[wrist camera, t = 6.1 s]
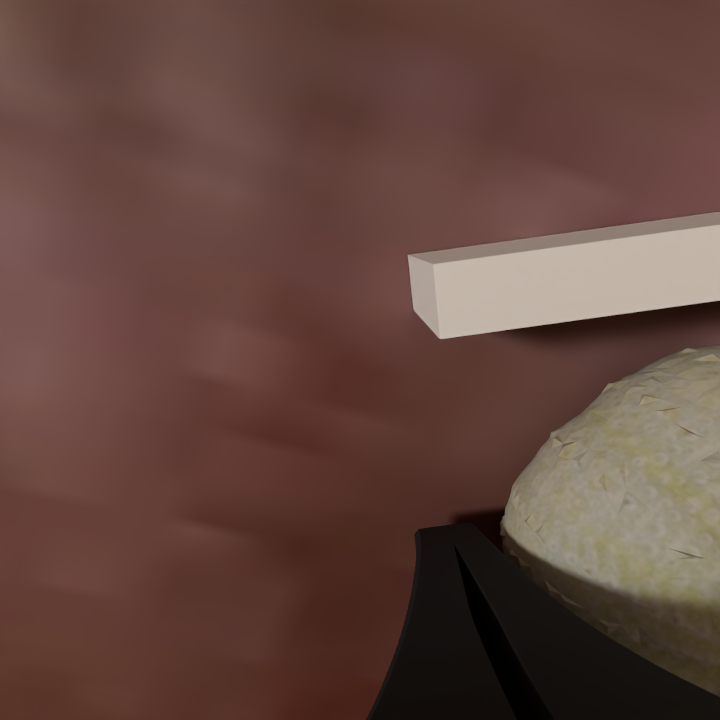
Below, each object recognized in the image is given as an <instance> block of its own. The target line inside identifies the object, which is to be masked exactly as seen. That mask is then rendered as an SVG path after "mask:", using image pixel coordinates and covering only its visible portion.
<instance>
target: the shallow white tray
mask: <svg viewBox="0 0 720 720" xmlns="http://www.w3.org/2000/svg"><path fill="white" fill-rule="evenodd" d="M408 261H409V271H410V280H411V290H412V299H413V309H414V311H415V312H416V313H417V314H418V315H419V316H420V318H421V319H422V320H423V321H424V322H425V323H426V324H427V325H428V326H429V327H430V329H431V330H432V331H433V332H434V333H435V334H436V335H437V336H438V337H439V339H445V338H452V337H460V336H467V335H474V334H481V333H488V332H496V331H503V330H510V329H517V328H525V327H532V326H539V325H546V324H553V323H561V322H568V321H575V320H582V319H590V318H597V317H604V316H611V315H618V314H626V313H633V312H640V311H647V310H655V309H662V308H669V307H676V306H684V305H691V304H698V303H705V302H712V301H720V212H715V213H707V214H700V215H693V216H686V217H679V218H671V219H664V220H657V221H650V222H642V223H635V224H628V225H621V226H613V227H606V228H599V229H592V230H585V231H577V232H570V233H563V234H556V235H548V236H541V237H534V238H527V239H519V240H512V241H505V242H498V243H491V244H483V245H476V246H469V247H462V248H454V249H447V250H440V251H433V252H425V253H418V254H411V255H408Z"/></svg>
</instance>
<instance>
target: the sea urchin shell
mask: <svg viewBox="0 0 720 720" xmlns="http://www.w3.org/2000/svg"><path fill="white" fill-rule="evenodd" d="M500 527H501V532H500V536H501V538H502V549H503V554H504V555H505V556H506V557H507V558H508V559H509V560H510V561H511V562H512V563H513V564H514V565H515V566H517V567H518V568H519V569H520V570H521V571H522V572H523V573H524V574H525V575H527V576H528V577H529V578H530V579H531V580H532V581H533V582H535V583H536V584H537V585H538V586H539V587H541V588H542V589H543V590H544V591H545V592H547V593H548V594H549V595H550V596H552V597H553V598H554V599H555V600H557V601H558V602H559V603H560V604H562V605H563V606H564V607H566V608H567V609H568V610H570V611H571V612H572V613H574V614H575V615H576V616H578V617H579V618H581V619H582V620H584V621H585V622H587V623H588V624H590V625H591V626H593V627H594V628H596V629H597V630H598V631H600V632H601V633H603V634H604V635H606V636H608V637H609V638H611V639H613V640H614V641H616V642H617V643H619V644H621V645H622V646H624V647H626V648H627V649H629V650H631V651H633V652H634V653H636V654H638V655H640V656H641V657H643V658H645V659H647V660H648V661H650V662H652V663H654V664H655V665H657V666H659V667H661V668H663V669H665V670H667V671H669V672H670V673H672V674H674V675H676V676H678V677H680V678H682V679H684V680H686V681H688V682H690V683H692V684H694V685H696V686H698V687H700V688H702V689H705V690H707V691H709V692H711V693H713V694H715V695H717V696H719V697H720V345H715V346H709V347H703V348H686V349H685V350H683V351H680V352H676V353H674V354H671V355H668V356H666V357H663V358H661V359H659V360H657V361H655V362H653V363H651V364H649V365H648V366H646V367H644V368H643V369H641V370H639V371H638V372H636V373H634V374H632V375H628V376H625V377H624V378H622V379H621V380H620V381H619V382H616V383H610V384H608V385H607V386H606V387H605V389H604V390H603V392H602V393H601V394H600V395H599V396H598V397H597V398H596V399H595V401H594V402H592V403H591V404H590V405H589V406H588V407H587V408H586V409H585V410H584V411H583V412H582V413H581V414H579V415H578V416H576V417H575V418H573V419H572V420H570V421H569V422H567V423H566V424H564V425H563V426H562V427H561V428H559V429H557V430H555V431H553V432H551V435H550V438H549V439H548V440H547V441H546V442H545V443H544V444H543V445H542V447H541V448H540V450H539V451H538V453H537V454H536V456H535V457H534V459H533V460H532V461H531V462H530V463H529V465H528V466H527V467H526V468H525V469H524V471H523V472H522V473H521V474H520V476H519V477H518V478H517V480H516V481H515V483H514V484H513V486H512V489H511V494H510V497H509V500H508V503H507V505H506V507H505V516H503V517H502V521H501V522H500Z"/></svg>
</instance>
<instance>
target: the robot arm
mask: <svg viewBox="0 0 720 720" xmlns="http://www.w3.org/2000/svg"><path fill="white" fill-rule="evenodd" d="M414 535H415V544H416V566H415V574H414V580H413V587H412V593H411V597H410V602H409V606H408V610H407V614H406V618H405V622H404V626H403V629H402V633H401V636H400V639H399V642H398V645H397V648H396V651H395V654H394V657H393V660H392V662H391V665H390V667H389V670H388V672H387V675H386V677H385V680H384V682H383V685H382V687H381V689H380V692H379V694H378V696H377V698H376V701H375V703H374V705H373V707H372V709H371V711H370V713H369V715H368V717H367V719H366V720H720V697H719V696H717V695H715V694H713V693H711V692H709V691H707V690H705V689H702V688H700V687H698V686H696V685H694V684H692V683H690V682H688V681H686V680H684V679H682V678H680V677H678V676H676V675H674V674H672V673H670V672H669V671H667V670H665V669H663V668H661V667H659V666H657V665H655V664H654V663H652V662H650V661H648V660H647V659H645V658H643V657H641V656H640V655H638V654H636V653H634V652H633V651H631V650H629V649H627V648H626V647H624V646H622V645H621V644H619V643H617V642H616V641H614V640H613V639H611V638H609V637H608V636H606V635H604V634H603V633H601V632H600V631H598V630H597V629H596V628H594V627H593V626H591V625H590V624H588V623H587V622H585V621H584V620H582V619H581V618H579V617H578V616H576V615H575V614H574V613H572V612H571V611H570V610H568V609H567V608H566V607H564V606H563V605H562V604H560V603H559V602H558V601H557V600H555V599H554V598H553V597H552V596H550V595H549V594H548V593H547V592H545V591H544V590H543V589H542V588H541V587H539V586H538V585H537V584H536V583H535V582H533V581H532V580H531V579H530V578H529V577H528V576H527V575H525V574H524V573H523V572H522V571H521V570H520V569H519V568H518V567H517V566H515V565H514V564H513V563H512V562H511V561H510V560H509V559H508V558H507V557H506V556H505V555H504V554H503V553H502V552H501V551H500V550H499V549H498V548H496V547H495V546H494V545H493V544H492V543H491V542H490V541H489V539H488V538H487V537H486V536H485V535H484V534H483V533H482V532H481V531H480V530H479V529H478V528H477V527H476V526H475V525H474V524H473V523H471V522H467V523H459V524H452V525H445V526H438V527H430V528H423V529H418V530H417V532H416V533H415V534H414Z"/></svg>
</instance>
